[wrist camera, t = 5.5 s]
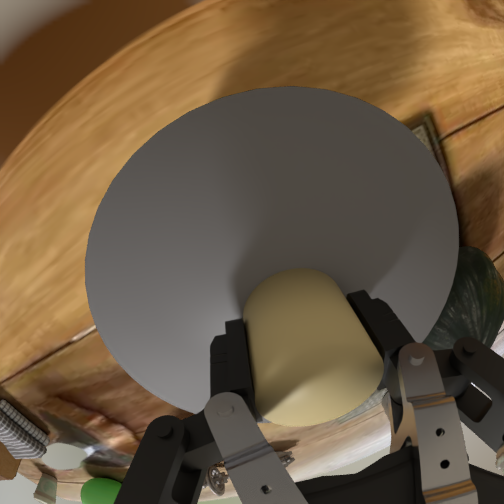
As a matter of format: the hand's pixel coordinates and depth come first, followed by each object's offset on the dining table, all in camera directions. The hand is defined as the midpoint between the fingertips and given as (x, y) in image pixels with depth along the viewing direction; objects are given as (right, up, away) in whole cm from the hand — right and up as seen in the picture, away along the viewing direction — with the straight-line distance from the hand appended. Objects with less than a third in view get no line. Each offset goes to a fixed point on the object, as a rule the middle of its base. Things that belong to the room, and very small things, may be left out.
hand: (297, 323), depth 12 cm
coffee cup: (-72, -75, +48) cm, 114 cm away
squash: (+23, -1, +23) cm, 32 cm away
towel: (-58, -37, +32) cm, 76 cm away
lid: (0, +1, +2) cm, 2 cm away
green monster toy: (-41, -61, +45) cm, 86 cm away
